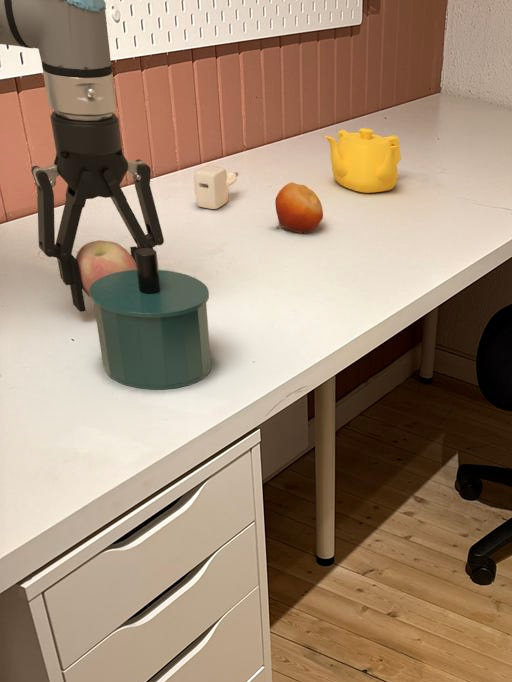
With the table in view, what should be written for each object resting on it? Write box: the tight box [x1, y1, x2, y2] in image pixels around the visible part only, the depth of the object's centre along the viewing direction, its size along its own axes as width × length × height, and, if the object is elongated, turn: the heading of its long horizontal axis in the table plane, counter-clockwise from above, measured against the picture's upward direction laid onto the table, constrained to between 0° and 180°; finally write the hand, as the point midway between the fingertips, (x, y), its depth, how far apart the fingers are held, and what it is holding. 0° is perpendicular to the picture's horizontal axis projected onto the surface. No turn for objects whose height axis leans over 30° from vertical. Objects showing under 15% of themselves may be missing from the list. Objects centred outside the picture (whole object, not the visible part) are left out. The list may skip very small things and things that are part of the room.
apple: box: [75, 240, 137, 298], centre depth 124 cm, size 8×8×8 cm
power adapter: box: [193, 164, 239, 210], centre depth 166 cm, size 11×5×6 cm, turn 168°
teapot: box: [323, 127, 402, 194], centre depth 181 cm, size 14×13×10 cm
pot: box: [93, 302, 212, 390], centre depth 116 cm, size 13×13×9 cm
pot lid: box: [89, 248, 210, 318], centre depth 111 cm, size 13×13×6 cm
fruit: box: [274, 182, 324, 234], centre depth 160 cm, size 8×8×8 cm
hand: (111, 303), depth 126 cm, fingers closed on apple, 8 cm apart
